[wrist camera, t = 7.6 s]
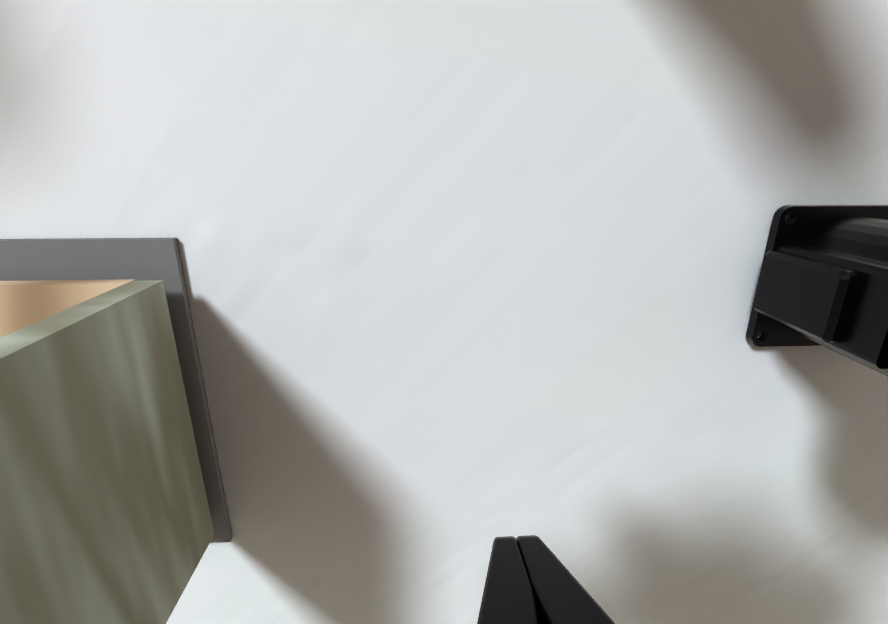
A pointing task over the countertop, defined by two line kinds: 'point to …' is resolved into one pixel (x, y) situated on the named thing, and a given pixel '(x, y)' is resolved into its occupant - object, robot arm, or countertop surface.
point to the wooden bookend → (95, 456)
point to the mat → (164, 264)
